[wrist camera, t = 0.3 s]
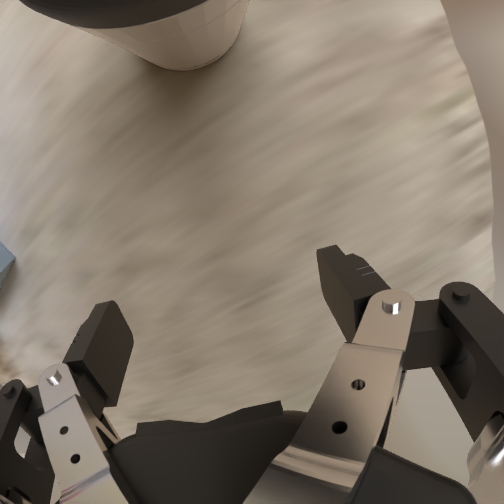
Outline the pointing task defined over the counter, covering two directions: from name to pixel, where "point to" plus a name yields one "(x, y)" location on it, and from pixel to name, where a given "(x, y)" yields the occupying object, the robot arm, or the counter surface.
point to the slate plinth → (5, 262)
